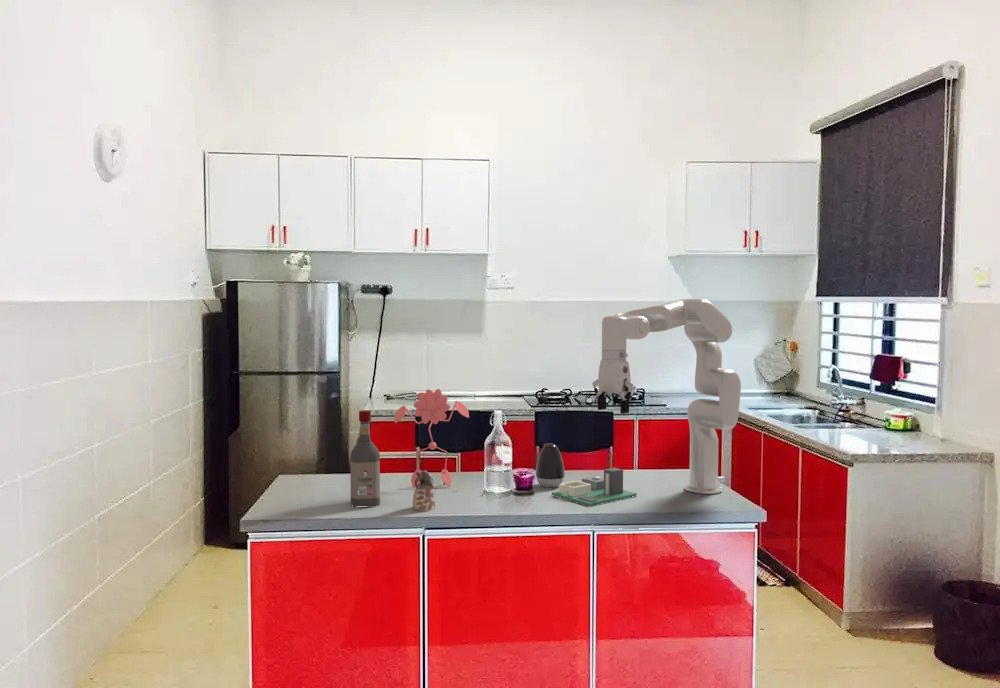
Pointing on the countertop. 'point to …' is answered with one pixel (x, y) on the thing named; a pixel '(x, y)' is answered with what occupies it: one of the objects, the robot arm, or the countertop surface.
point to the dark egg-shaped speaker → (550, 466)
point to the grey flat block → (595, 482)
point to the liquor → (365, 467)
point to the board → (595, 497)
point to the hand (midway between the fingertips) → (613, 411)
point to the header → (575, 488)
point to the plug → (613, 481)
